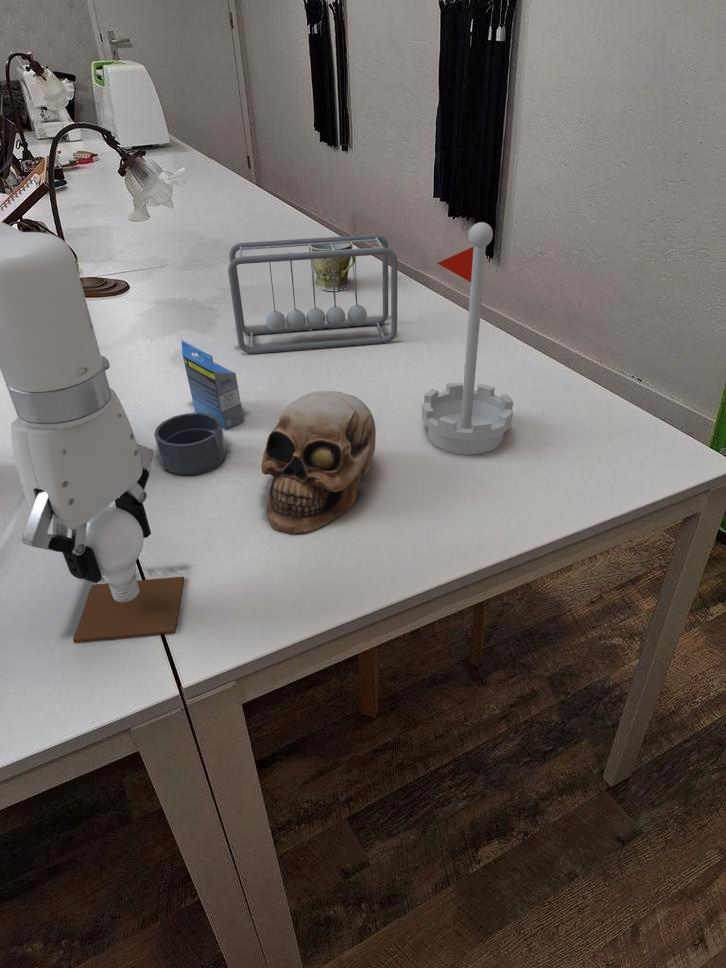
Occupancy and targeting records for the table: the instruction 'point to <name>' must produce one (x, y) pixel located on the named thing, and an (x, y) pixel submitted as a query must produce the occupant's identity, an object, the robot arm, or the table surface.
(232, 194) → the table surface
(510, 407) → the flag stand
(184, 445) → the basin
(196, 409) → the label tape box
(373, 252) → the newton's cradle
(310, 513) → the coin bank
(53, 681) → the table surface
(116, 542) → the lightbulb
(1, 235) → the robot arm
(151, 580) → the mat
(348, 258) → the ceramic cup
